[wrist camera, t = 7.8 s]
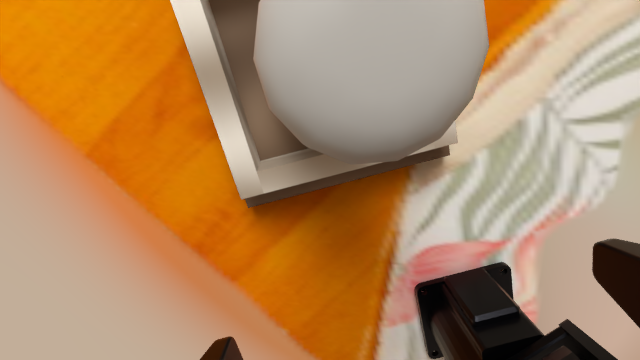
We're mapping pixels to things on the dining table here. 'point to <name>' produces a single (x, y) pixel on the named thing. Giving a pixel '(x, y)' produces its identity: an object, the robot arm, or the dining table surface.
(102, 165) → the dining table surface
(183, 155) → the dining table surface
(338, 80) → the salt shaker
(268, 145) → the shaker stand
